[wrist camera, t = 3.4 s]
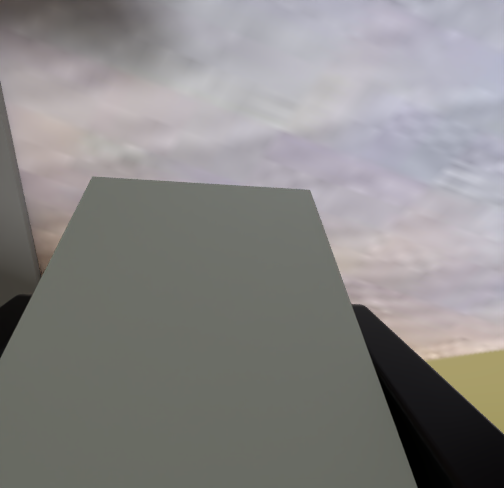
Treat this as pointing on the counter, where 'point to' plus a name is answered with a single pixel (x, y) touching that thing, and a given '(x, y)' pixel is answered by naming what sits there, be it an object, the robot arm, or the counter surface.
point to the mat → (14, 223)
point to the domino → (193, 351)
